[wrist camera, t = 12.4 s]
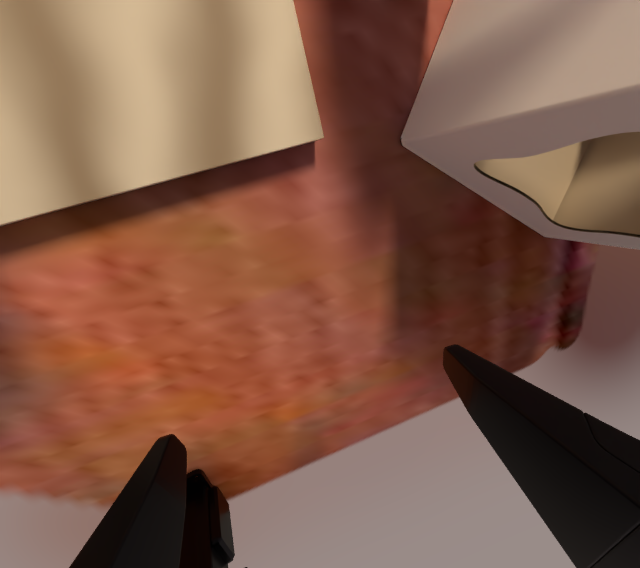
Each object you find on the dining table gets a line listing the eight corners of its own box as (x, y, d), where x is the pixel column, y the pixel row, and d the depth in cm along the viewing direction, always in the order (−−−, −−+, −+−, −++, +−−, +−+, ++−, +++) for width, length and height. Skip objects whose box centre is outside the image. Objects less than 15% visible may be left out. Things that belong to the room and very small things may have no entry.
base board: (-190, 277, 12) (-235, 287, 11) (-774, -266, 7) (-1014, -380, 5) (314, 141, 19) (324, 137, 17) (235, -190, 13) (240, -231, 12)
